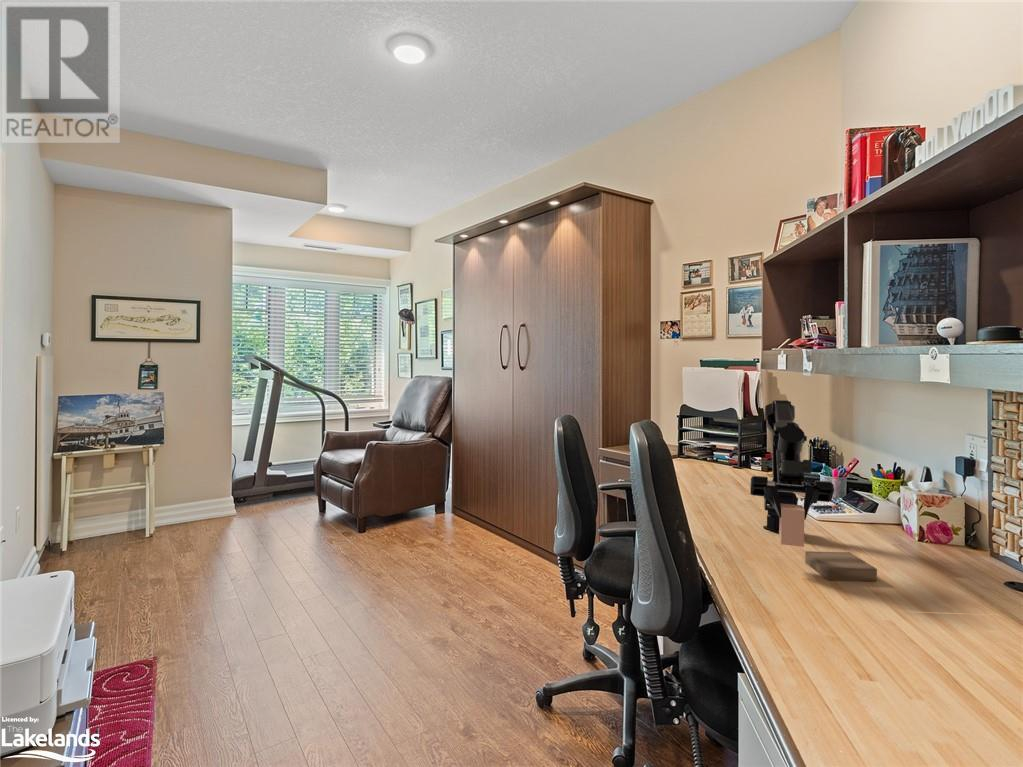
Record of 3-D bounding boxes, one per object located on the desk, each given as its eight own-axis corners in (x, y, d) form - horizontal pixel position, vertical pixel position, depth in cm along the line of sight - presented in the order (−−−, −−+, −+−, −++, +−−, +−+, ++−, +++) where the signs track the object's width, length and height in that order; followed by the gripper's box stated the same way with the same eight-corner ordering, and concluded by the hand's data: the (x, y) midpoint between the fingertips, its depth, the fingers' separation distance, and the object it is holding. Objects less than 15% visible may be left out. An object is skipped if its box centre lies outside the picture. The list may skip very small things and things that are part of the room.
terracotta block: (779, 538, 135) (779, 503, 135) (801, 540, 133) (802, 505, 133) (780, 544, 130) (781, 508, 130) (803, 546, 129) (804, 510, 128)
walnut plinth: (805, 562, 135) (805, 551, 135) (849, 563, 135) (849, 552, 135) (828, 580, 124) (828, 567, 124) (876, 581, 124) (877, 569, 124)
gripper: (751, 445, 138) (752, 496, 128) (833, 449, 131) (841, 504, 121) (749, 469, 146) (750, 519, 136) (827, 474, 139) (834, 528, 129)
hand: (792, 517), depth 130 cm, fingers closed on terracotta block, 5 cm apart
